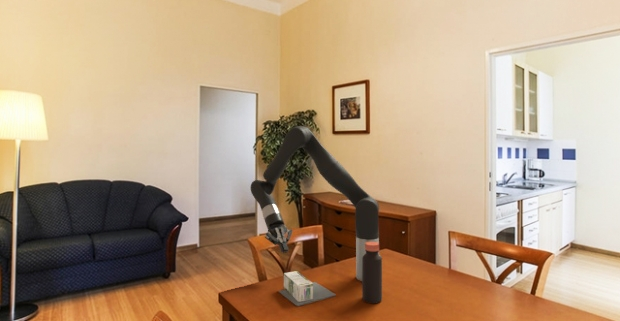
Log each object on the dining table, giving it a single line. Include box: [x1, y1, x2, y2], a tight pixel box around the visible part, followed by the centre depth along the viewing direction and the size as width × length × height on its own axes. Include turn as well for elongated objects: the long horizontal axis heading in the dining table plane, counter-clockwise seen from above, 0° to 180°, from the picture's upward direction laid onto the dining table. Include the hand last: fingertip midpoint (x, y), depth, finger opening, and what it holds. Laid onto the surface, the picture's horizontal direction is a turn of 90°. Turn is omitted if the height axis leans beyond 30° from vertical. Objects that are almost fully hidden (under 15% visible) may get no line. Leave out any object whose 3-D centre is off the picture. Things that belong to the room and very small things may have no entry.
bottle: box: [361, 242, 383, 304], centre depth 118 cm, size 7×7×20 cm
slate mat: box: [278, 281, 336, 307], centre depth 124 cm, size 16×14×1 cm
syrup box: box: [283, 270, 313, 302], centre depth 123 cm, size 6×6×14 cm
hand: (285, 251), depth 137 cm, fingers closed
